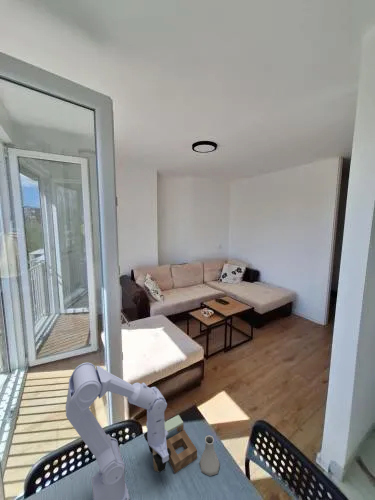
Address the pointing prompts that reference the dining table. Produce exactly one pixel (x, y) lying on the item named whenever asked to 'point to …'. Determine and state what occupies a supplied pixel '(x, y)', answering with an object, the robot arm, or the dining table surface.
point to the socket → (186, 455)
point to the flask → (209, 458)
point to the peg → (154, 461)
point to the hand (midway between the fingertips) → (157, 460)
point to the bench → (174, 424)
